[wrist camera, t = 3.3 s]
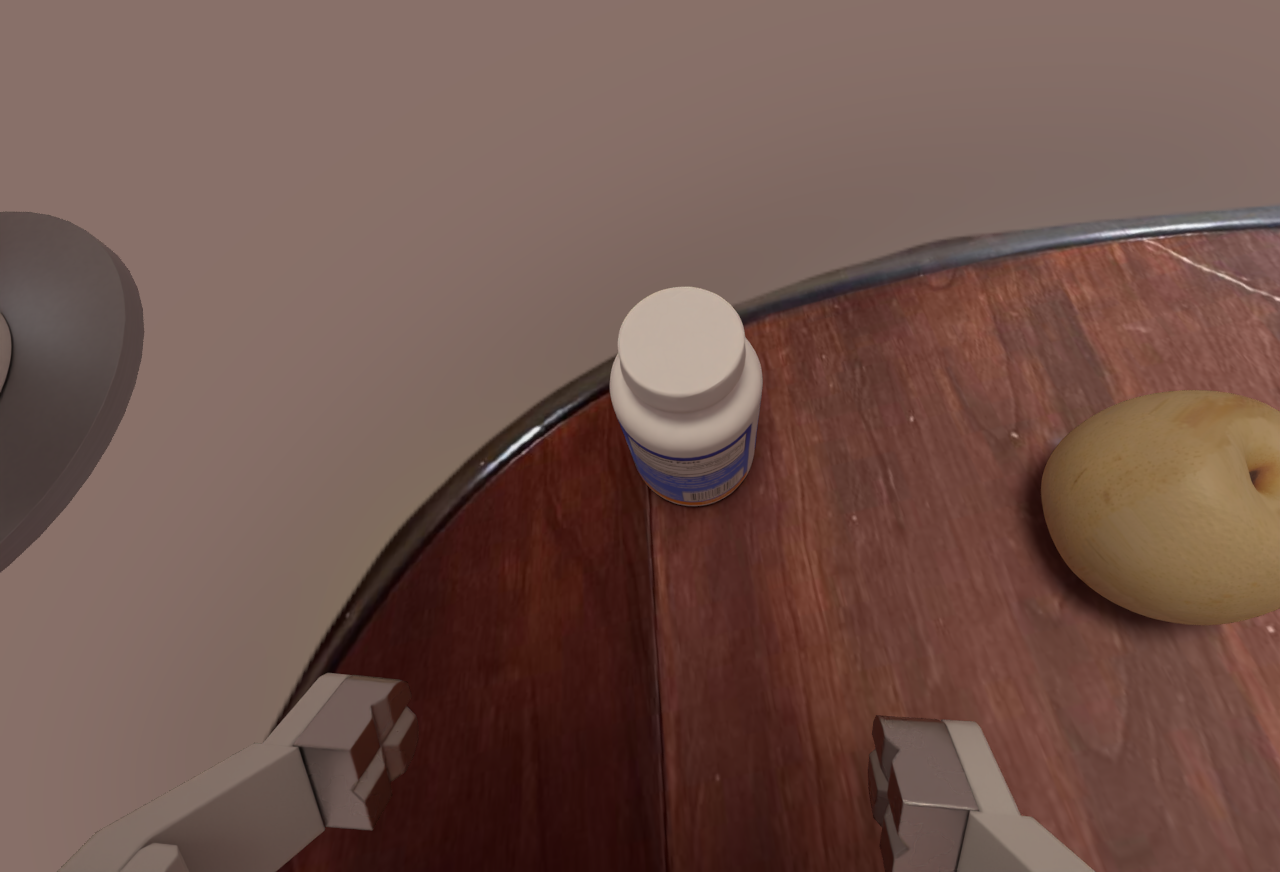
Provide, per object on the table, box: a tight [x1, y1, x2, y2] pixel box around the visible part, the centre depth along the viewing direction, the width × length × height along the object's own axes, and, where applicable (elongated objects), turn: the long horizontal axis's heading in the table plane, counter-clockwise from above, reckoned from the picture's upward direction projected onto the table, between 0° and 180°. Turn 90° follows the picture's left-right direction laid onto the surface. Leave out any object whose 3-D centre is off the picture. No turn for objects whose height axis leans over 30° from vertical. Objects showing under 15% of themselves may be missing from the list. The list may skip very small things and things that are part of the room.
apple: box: [1041, 390, 1280, 625], centre depth 21 cm, size 8×8×8 cm
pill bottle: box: [610, 287, 763, 506], centre depth 24 cm, size 5×5×10 cm
